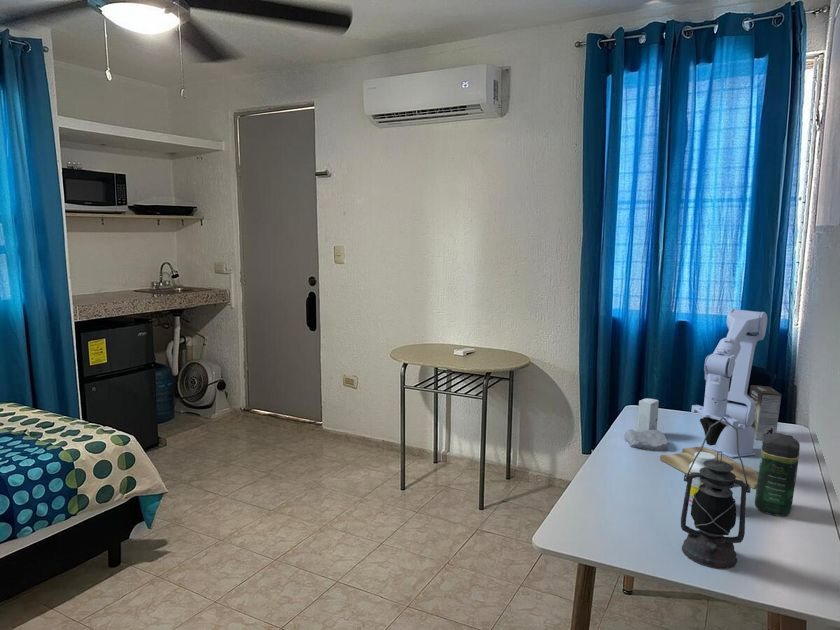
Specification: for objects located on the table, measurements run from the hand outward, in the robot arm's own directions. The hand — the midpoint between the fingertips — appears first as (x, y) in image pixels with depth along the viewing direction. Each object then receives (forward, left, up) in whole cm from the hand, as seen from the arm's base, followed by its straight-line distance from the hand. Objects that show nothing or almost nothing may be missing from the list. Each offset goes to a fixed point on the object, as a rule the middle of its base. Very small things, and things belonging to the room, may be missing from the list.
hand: (711, 444), depth 167 cm
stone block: (+3, -22, -9) cm, 24 cm away
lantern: (+33, +34, -9) cm, 48 cm away
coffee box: (-41, -19, -9) cm, 46 cm away
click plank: (+2, -1, -8) cm, 9 cm away
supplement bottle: (+17, +15, -9) cm, 24 cm away
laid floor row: (-8, -1, -8) cm, 11 cm away
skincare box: (-3, -29, -9) cm, 31 cm away
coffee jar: (+1, +22, -9) cm, 24 cm away
